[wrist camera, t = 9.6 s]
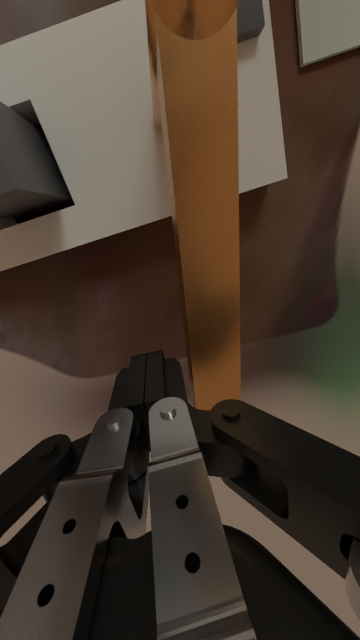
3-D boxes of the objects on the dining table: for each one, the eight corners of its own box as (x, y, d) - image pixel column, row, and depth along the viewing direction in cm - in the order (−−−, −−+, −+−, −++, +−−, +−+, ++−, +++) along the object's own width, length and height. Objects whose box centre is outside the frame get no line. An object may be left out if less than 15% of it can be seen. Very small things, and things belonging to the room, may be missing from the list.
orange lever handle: (180, 348, 20) (195, 440, 12) (149, 88, 13) (134, -108, 5) (210, 344, 20) (245, 433, 12) (193, 83, 13) (244, -117, 5)
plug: (-8, 154, 17) (-141, 106, 9) (48, 135, 16) (-43, 70, 9) (23, 216, 18) (-69, 217, 11) (75, 199, 18) (16, 188, 11)
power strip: (-95, 120, 16) (-168, 93, 12) (243, -2, 15) (270, -71, 11) (-3, 271, 20) (-39, 284, 16) (268, 183, 18) (293, 176, 15)
